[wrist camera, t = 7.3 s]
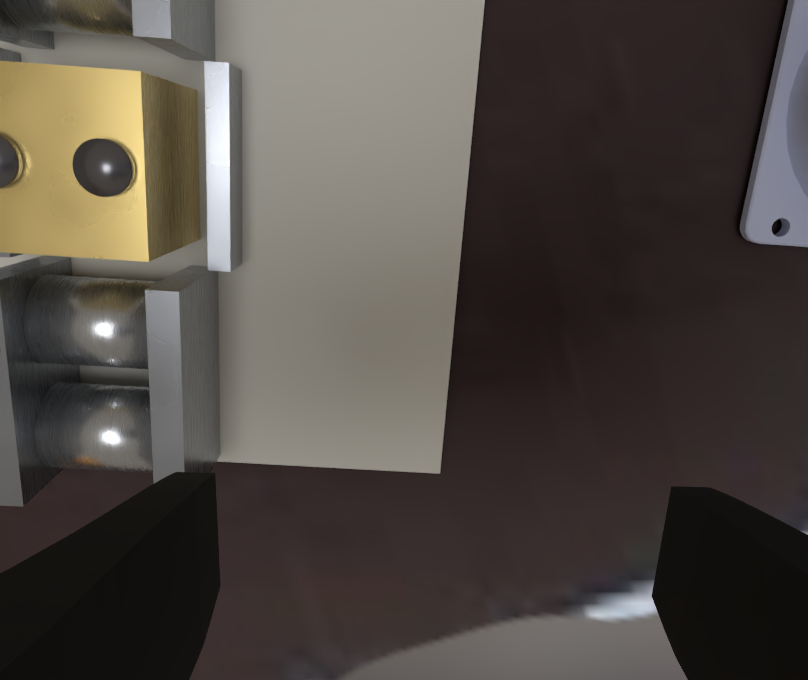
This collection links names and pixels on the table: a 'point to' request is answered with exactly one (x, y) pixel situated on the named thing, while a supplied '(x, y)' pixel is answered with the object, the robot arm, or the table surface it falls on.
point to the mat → (326, 222)
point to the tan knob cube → (96, 162)
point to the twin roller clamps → (120, 293)
